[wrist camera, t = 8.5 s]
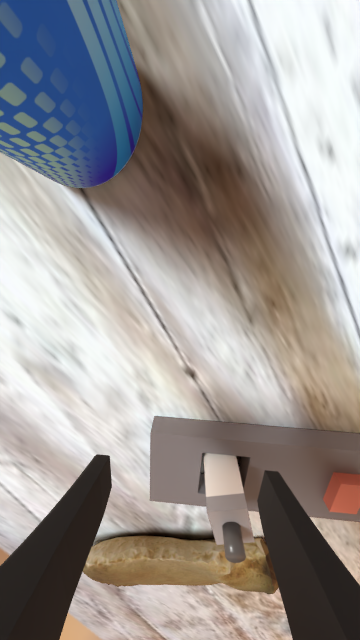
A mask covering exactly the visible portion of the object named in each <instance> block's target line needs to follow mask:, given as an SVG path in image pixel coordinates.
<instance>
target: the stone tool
mask: <svg viewBox="0 0 360 640" xmlns="http://www.w3.org/2000/svg"><path fill="white" fill-rule="evenodd" d="M244 549H245V555H246V559H245V560H244V561H243V562H240V563H232V562H229V561H228V560H227V559H226V558H225V549H224V544H222V545H217V544H216V541H215V539H210V540H185V539H177V538H171V537H160V536H129V537H117V538H113V539H110V540H105V541H102V542H100V543H98V544H96V545H94V546H92V548H91V550H90V553H89V555H88V558H87V561H86V563H85V566H84V569H83V572H84V574H86V575H87V576H88V577H90V578H91V579H92V580H95V581H98V582H100V583H107V584H108V585H109V584H113V585H115V586H117V587H119V586H121V585H122V586H134V585H139V584H141V585H163V584H167V585H212V584H217V583H220V584H221V583H223V584H226V585H228V586H230V587H233V588H235V589H238V590H242V591H252V592H265V593H267V594H273V593H275V591H276V590H277V589H278V588H279V586H278V583H277V579H276V576H275V572H274V569H273V565H272V562H271V558H270V555H269V551H268V548H267V545H266V544H265V542H264V540H263V539H262V538H254V542H250V543H244Z"/></svg>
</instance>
